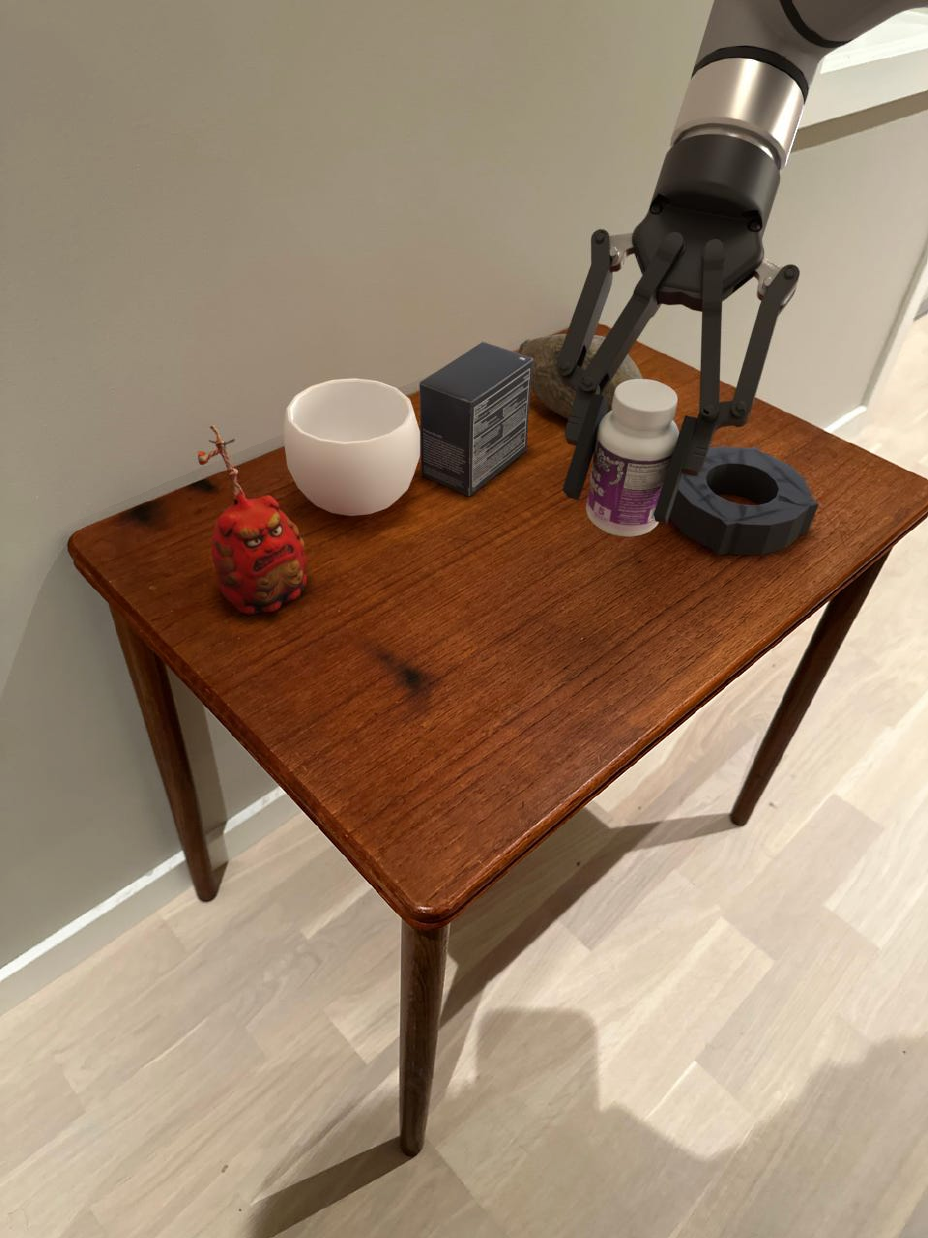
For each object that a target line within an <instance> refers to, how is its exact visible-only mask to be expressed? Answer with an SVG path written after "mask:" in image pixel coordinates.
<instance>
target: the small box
mask: <svg viewBox="0 0 928 1238" xmlns="http://www.w3.org/2000/svg"><path fill="white" fill-rule="evenodd" d="M532 364H533V358H531V357H527V356H524V355H521V354H520V353H518V352H515V351H512V350H509V349H507V348H503V347H500V346H497V345H494V344H491V343H489V342H485V341H481V342H480V343H478V344H477V345H475V346H474V347H472V348H470V350H468V351H466V352H465V353H463V354H462V355H460V356H458V357H457V358H455V359H454V360H452V361H451V362H449V363H447V364H446V365H444V366H443V367H441V368H439V369H438V370H437V371H435V372H434V373H432V374H430V375H429V376H427V377H426V378H423V379H422V380H421V381H419V382H418V384H419V414H420V415H419V420H420V421H419V422H420V423H419V425H420V426H419V427H420V428H419V430H420V473H421V474H420V475H421V476H422V477H425V478H427V479H429V480H431V481H433V482H435V483H438V484H439V485H442V486H444V487H446V488H448V489H451V490H453V491H455V492H457V493H460V494H462V495H464V496H467V497H471V496H472V495H473V494H475V493H476V492H477V491H479V490H480V489H481V488H482V487H483V486H485V485H486V484H488V482H490V481H491V480H492V479H494V478H495V477H496V476H497V475H498V474H500V473H501V472H502V471H504V470H505V469H506V468H507V467H508V466H509V465H511V464H512V463H513V462H515V460H517V459H518V458H520V457H521V456H522V455H523V454H524V453H525V452H527V450H528V432H529V429H528V428H529V416H530V415H529V414H530V403H531V390H532V386H531V377H532Z"/></svg>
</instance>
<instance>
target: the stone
mask: <svg viewBox="0 0 928 1238" xmlns="http://www.w3.org/2000/svg"><path fill="white" fill-rule="evenodd" d="M566 335H567V333H556V334H552V335H545V336H540V337H537V338H532V339H529V338H527V339H525V340H524V341H523V342H522V343H521V344H520V346H519V348H518V352H519V354H521V355H524V356H527V357H531V358H533V364H532V377H531V390H533V393H534V395H535V397H536V398H537V399H538V400H539V401H540V402H541V403H542V404H543V405H544V406H545V407H547V408H548V409H549V410H550V411H552V412H553V413H556V414H558V415H559V416H561V417H562V418H565V419H567V420H568V419H569V416H570V413H571V410H572V406H573V403H574V400H575V397H576V392H575V391H574V390H573V389H571V388H570V387H567V386H565V385H564V384H563V383H562V382H561V379H560V377H559V375H558V373H557V370H556V363H557V360H558V357H559V355H560V352H561V349H562V346H563V343H564V340H565V337H566ZM605 338H606V336H602V335H597V334H594V337H593V340H592V343H591V346H590V348H589V351H588V354H587V357H586V360H585V363H584V366H583V368H582V369H584V370H585V369H586V368H587V366H588V365H589V363H590V362H591V360H592V358H593V357H594V355H595V354H596V352H597V351H598V349H599V347H600V346H601V344H602V343H603V341H604V339H605ZM633 379H644V378H643V376H642V374H641V371H640V370H639V368H638V366H637V364H636V363H635V362H634V360H633V359H632V357H631V355H629V353H628V354H627V356H626V357H625V359H624V361H623V362H622V364H621V365H620V367H619V368H618V370H617V372H616V373H615V375H614V376H613V378H612V379H611V381H610V383H609V384H608V386H607V387H606V389H605V390H604V392H603V393H602V396H604V398H605V401H606V404H607V407H608V410H607V413H606V414H608V413H609V412H610V411H612V402H613V397H614V392H615V389H616V387H617V386H618V385H619V384H621V383H623V382H625V381H628V380H633Z"/></svg>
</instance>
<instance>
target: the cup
mask: <svg viewBox="0 0 928 1238" xmlns="http://www.w3.org/2000/svg"><path fill="white" fill-rule="evenodd" d="M419 427H420V426H419V424H418V421H417V418H416V415H415V411H414V408H413V404H412V402H411V399H410V398H409V397H408V396H407V395H405V393H404V392H402V391H401V390H400V389H399V388H397V387H395V386H392V385H389V384H387V383H384V382H381V381H379V380H372V379H363V378H355V377H354V378H341V379H340V378H339V379H331V380H327V381H324V382H320V383H316V384H313V385H310V386H309V387H307V388H305V389H304V390H302V391H300V392H299V393H297V394H295V395H294V397H293V398H292V400H291V401H290V402H289V404H288V406H287V407H286V409H285V414H284V419H283V426H282V435H283V444H284V451H285V458H286V467H287V469H288V471H289V473H290V476H291V478H292V479H293V481H294V483H295V485H296V487H297V488H298V489H299V491H300V492H301V493H302V494H303V495H304V496H305V498H306V499H308V500H309V501H310V502H311V503H312V504H313V505H315V506H316V507H318V508H320V509H322V510H324V511H326V512H329V513H331V514H335V515H342V516H348V517H349V516H350V517H353V516H354V517H356V516H364V515H372V514H374V513H375V514H376V513H377V512H380V511H383V510H386V509H388V508H390V507H391V506H392V505H393V504H394V503H395V502H397V501H398V500H399V499H400V498H401V497H402V496H403V495H404V494H405V493H406V492H407V491H408V489H409V487H410V485H411V482H412V480H413V477H414V475H415V472H416V469H417V466H418V463H419V460H420V458H421V430H420V428H419Z"/></svg>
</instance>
